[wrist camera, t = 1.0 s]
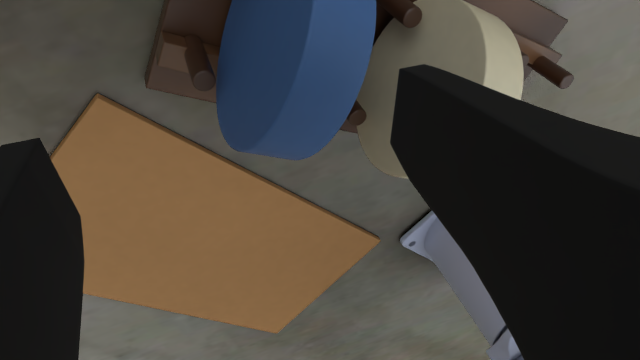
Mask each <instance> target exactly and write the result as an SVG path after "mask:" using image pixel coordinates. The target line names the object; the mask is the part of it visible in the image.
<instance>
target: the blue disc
mask: <svg viewBox="0 0 640 360" xmlns="http://www.w3.org/2000/svg"><path fill="white" fill-rule="evenodd" d="M375 26H376V0H232V2H231V5H230V8H229V12H228V15H227V19H226V23H225V27H224V31H223V36H222V41H221V46H220V52H219V59H218V67H217V80H216V104H217V114H218V120H219V125H220V128H221V132H222V134H223V137H224V139H225V140H226V142H227V143H228V145H229V146H230V147H231V148H233V149H235V150H237V151H240V152H246V153H252V154H258V155H264V156H270V157H277V158H283V159H289V160H302V159H305V158H307V157H310V156H312V155H314V154H315V153H317V152H318V151H320V150H321V149H322V148H323V147H324V146H325V145H327V143H328V142H329V141H330V140H331V139H332V138H333V137H334V136H335V134H336V133H337V132H338V130H339V129H340V127H341V126H342V125H343V123H344V121H345V120H346V118H347V116H348V115H349V113H350V111H351V109H352V107H353V105H354V103H355V101H356V99H357V96H358V94H359V91H360V89H361V86H362V84H363V81H364V78H365V74H366V71H367V68H368V65H369V60H370V56H371V52H372V47H373V41H374V35H375Z"/></svg>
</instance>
